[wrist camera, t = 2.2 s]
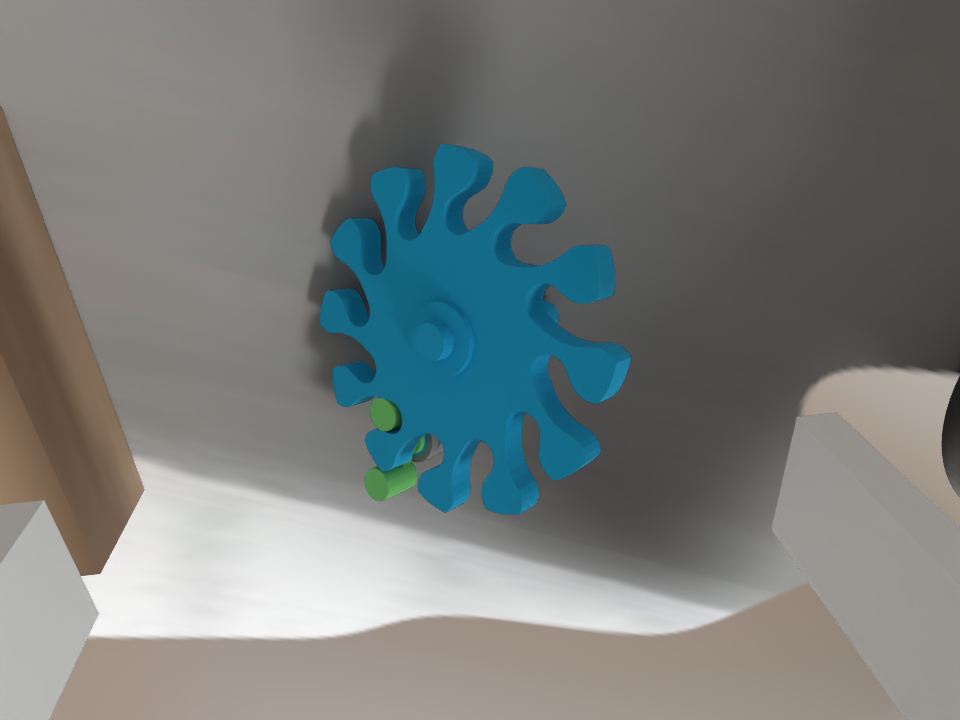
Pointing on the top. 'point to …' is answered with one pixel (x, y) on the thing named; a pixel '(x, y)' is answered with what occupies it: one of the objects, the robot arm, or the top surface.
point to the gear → (467, 335)
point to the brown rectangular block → (54, 388)
